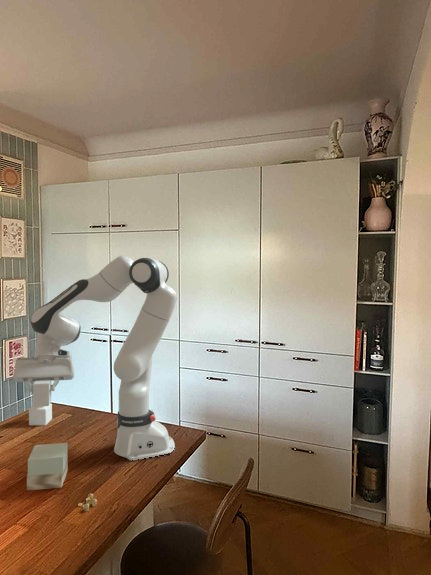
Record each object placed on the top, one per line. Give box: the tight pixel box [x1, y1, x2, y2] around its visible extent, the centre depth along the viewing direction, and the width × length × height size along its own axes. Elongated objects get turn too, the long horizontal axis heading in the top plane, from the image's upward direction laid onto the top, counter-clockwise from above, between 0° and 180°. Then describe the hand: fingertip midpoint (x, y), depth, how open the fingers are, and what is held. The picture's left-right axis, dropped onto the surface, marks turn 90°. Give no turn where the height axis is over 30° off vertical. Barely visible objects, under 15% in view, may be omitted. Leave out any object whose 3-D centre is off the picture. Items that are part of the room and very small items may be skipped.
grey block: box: [32, 379, 52, 407], centre depth 139 cm, size 5×5×8 cm
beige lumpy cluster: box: [77, 493, 98, 512], centre depth 113 cm, size 5×5×2 cm
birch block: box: [26, 457, 69, 491], centre depth 126 cm, size 10×10×5 cm
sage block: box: [27, 442, 69, 476], centre depth 125 cm, size 10×10×5 cm
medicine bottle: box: [28, 403, 53, 426], centre depth 170 cm, size 7×7×12 cm
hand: (42, 391), depth 138 cm, fingers closed on grey block, 5 cm apart
